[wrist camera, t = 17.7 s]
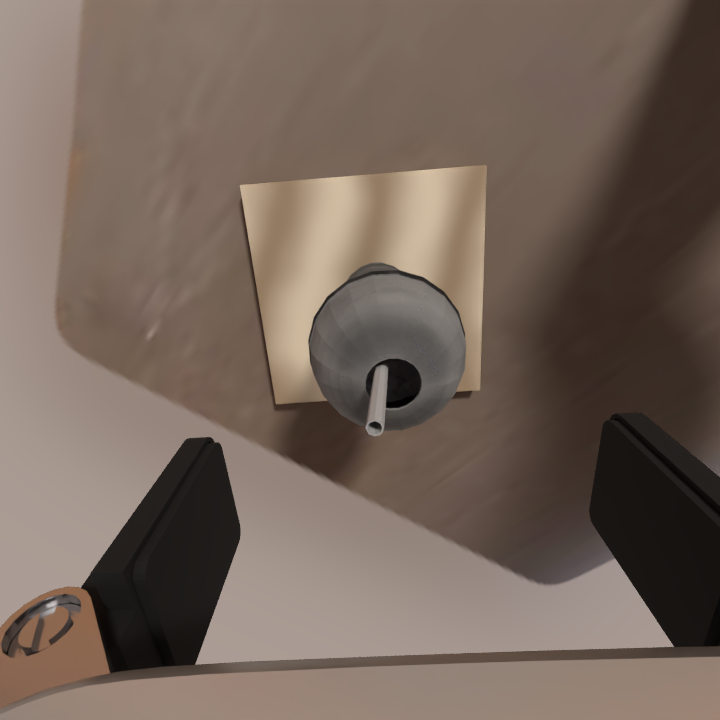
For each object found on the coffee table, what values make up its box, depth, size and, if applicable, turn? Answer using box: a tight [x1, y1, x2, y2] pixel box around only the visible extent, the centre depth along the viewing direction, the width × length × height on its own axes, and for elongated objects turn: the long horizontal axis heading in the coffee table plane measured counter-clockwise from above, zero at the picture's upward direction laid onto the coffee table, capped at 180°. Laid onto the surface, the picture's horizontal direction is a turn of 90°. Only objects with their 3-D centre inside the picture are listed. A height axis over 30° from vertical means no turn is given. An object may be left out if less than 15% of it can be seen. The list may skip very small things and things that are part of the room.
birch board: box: [240, 165, 487, 404], centre depth 31 cm, size 16×16×1 cm
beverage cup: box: [308, 262, 466, 436], centre depth 21 cm, size 7×7×20 cm
